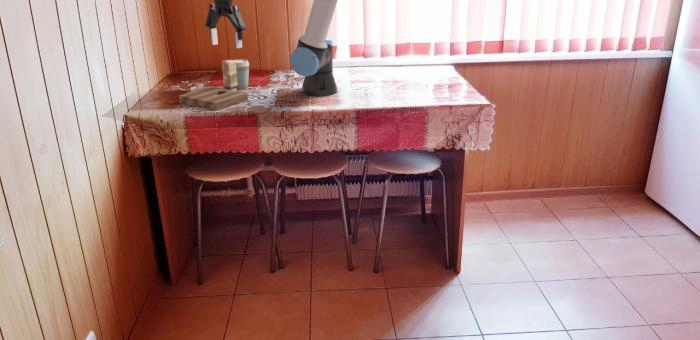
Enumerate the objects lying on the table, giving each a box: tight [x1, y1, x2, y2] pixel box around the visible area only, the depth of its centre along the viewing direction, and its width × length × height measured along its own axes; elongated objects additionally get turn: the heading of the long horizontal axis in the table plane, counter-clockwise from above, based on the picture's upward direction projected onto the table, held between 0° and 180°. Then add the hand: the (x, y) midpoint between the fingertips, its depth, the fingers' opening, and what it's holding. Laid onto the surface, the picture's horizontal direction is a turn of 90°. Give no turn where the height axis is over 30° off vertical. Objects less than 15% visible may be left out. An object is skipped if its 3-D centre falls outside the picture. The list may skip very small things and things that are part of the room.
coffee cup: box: [233, 59, 250, 91], centre depth 227 cm, size 9×8×12 cm
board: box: [178, 86, 249, 112], centre depth 208 cm, size 20×18×3 cm
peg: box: [221, 59, 238, 91], centre depth 217 cm, size 4×4×14 cm
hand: (227, 46), depth 212 cm, fingers open, 13 cm apart
